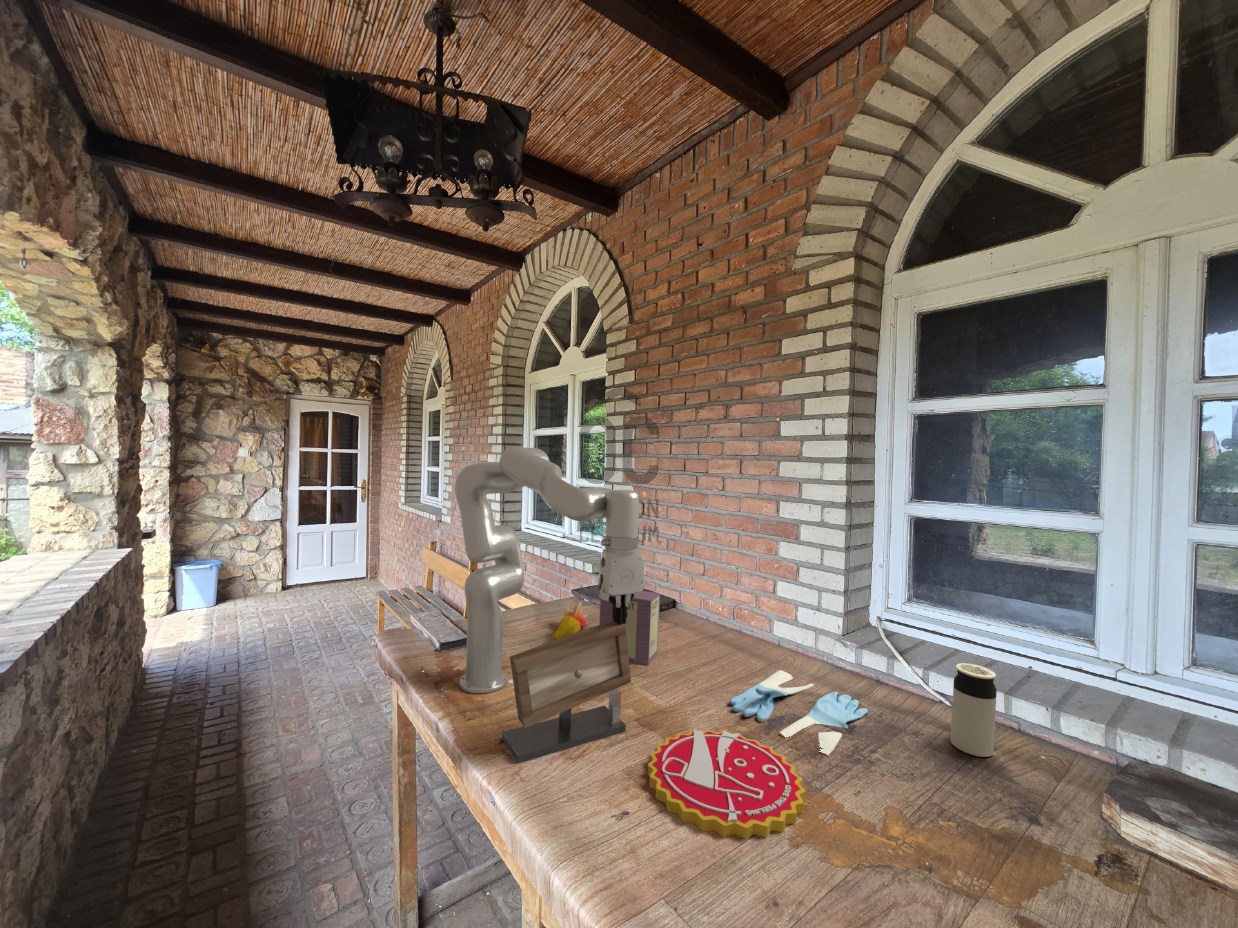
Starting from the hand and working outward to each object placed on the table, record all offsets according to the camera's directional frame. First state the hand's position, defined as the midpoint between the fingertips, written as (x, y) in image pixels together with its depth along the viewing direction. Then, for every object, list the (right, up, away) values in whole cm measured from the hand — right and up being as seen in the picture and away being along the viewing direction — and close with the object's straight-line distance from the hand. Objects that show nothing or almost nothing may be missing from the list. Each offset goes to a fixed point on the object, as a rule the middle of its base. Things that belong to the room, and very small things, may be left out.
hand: (619, 622), depth 116 cm
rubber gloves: (+46, -27, +14) cm, 56 cm away
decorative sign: (+21, -27, -17) cm, 38 cm away
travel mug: (+80, -28, -1) cm, 85 cm away
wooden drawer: (-9, -16, -5) cm, 19 cm away
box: (+3, -25, +44) cm, 50 cm away
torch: (-18, -24, +59) cm, 66 cm away
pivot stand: (-12, -24, -3) cm, 28 cm away
